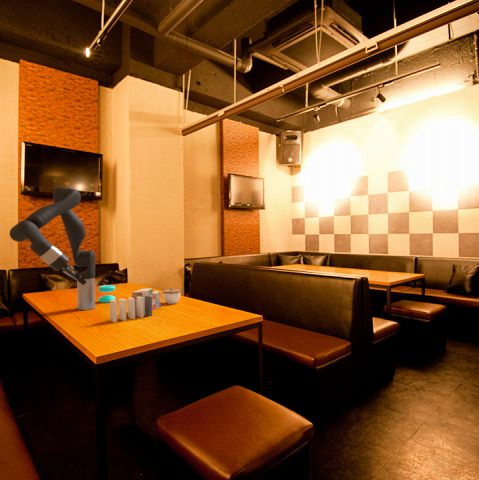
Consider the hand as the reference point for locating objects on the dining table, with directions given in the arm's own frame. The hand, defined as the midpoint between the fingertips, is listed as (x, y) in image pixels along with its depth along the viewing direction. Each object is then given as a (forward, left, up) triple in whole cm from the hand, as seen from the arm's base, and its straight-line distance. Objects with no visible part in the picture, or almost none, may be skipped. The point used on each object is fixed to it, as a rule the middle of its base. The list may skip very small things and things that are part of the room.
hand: (84, 283), depth 152 cm
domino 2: (0, +17, -20) cm, 26 cm away
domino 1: (0, +13, -20) cm, 23 cm away
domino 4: (0, +26, -20) cm, 33 cm away
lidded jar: (-22, +56, -20) cm, 63 cm away
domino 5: (0, +31, -20) cm, 37 cm away
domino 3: (0, +22, -20) cm, 29 cm away
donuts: (-54, +27, -20) cm, 63 cm away
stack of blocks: (-11, +35, -20) cm, 42 cm away
